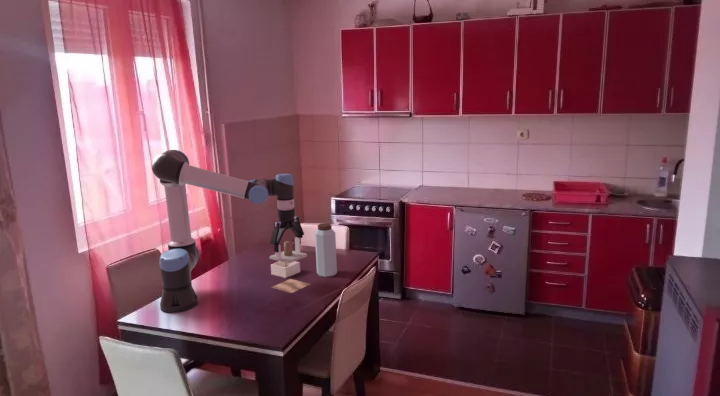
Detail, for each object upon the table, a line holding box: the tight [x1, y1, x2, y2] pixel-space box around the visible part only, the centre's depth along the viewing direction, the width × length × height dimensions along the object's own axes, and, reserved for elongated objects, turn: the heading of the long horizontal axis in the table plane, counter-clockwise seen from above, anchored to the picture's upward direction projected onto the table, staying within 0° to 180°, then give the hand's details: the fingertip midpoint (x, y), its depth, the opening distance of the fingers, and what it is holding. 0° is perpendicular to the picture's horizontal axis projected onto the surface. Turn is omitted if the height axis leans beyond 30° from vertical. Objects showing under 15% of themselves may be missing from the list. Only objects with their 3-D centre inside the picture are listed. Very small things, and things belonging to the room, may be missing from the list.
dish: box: [270, 261, 301, 279], centre depth 249 cm, size 10×10×6 cm
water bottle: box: [314, 222, 338, 278], centre depth 244 cm, size 10×10×25 cm
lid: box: [269, 240, 308, 263], centre depth 229 cm, size 12×12×7 cm
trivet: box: [270, 278, 311, 294], centre depth 233 cm, size 13×13×1 cm
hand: (288, 255), depth 230 cm, fingers closed on lid, 12 cm apart
